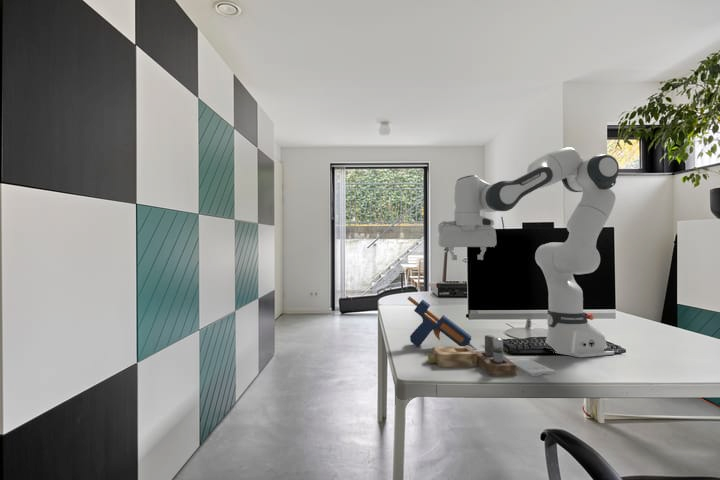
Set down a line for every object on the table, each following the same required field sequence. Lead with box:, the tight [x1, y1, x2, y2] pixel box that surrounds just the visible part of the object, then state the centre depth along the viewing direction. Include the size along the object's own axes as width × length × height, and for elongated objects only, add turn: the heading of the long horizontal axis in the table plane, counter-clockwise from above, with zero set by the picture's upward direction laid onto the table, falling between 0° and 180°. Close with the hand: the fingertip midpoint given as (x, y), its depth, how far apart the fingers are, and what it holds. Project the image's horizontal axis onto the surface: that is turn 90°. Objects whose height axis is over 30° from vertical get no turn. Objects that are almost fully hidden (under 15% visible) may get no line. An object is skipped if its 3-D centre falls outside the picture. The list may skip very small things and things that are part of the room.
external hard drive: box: [509, 357, 556, 377], centre depth 128 cm, size 2×8×12 cm
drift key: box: [427, 351, 437, 365], centre depth 134 cm, size 8×3×3 cm, turn 93°
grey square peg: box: [493, 337, 504, 364], centre depth 125 cm, size 3×3×10 cm
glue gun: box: [407, 296, 477, 350], centre depth 153 cm, size 6×31×15 cm
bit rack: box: [473, 334, 517, 377], centre depth 129 cm, size 8×15×9 cm, turn 3°
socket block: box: [432, 345, 478, 368], centre depth 134 cm, size 12×9×4 cm
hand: (467, 259), depth 145 cm, fingers open, 8 cm apart
